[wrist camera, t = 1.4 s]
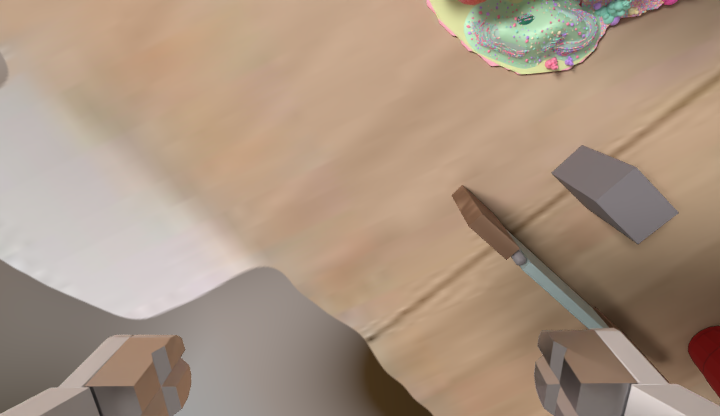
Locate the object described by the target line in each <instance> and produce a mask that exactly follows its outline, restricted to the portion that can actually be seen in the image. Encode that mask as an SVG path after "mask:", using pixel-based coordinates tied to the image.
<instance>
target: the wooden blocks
mask: <svg viewBox="0 0 720 416" xmlns="http://www.w3.org/2000/svg"><path fill="white" fill-rule="evenodd" d="M452 197H453V199H454V201H455V202H456V204H457V206H458V208H459V210H460V211H461V213H462V215H463V217H464V219H465V220H466V222H467V224H468V226H469V227H470V228H471V229H472V230H473V231H475V232H476V233H477V234H478V235H479V236H480V237H481V238H482V239H484V240H485V241H486V242H487V243H488V244H489V245H490V246H491V247H493V248H494V249H495V250H496V251H497V252H498V253H499V254H500V255H502V256H503V257H504V258H505V259H506V260H507V259H508V258H509V257H511V256H512V255H513V254H514V253H515V252H516V251H518V250H519V249H520V248H519V246H518V245H517V244H516V242H515V241H514V240H513V238H512V237H511V236H510V235H509V233H508V232H507V231H506V229H505V228H504V227H503V225H502V224H501V223H500V221H499V220H498V219H497V217H496V216H495V215H494V214H493V213H492V212H491V211H490V210H489V209H488V208H487V207H486V206H485V205H484V204H482V203H481V202H480V201H479V200H478V199H477V198H476V197H475V196H474V195H473V194H472V193H470V192H469V191H468V190H467V189H466V188H465V187H464V186H463V185H462V186H461V187H460V188H459V189H458V190H457V191H456V192H455V193H454V194H453V195H452ZM593 309H594V311H595V312H596V313H597V314H598V315H599V316H600V317H601V319H602V320H603V321H604V322H605V323H606V324H607V325H608V327H609V328H615V329H617V330H619V331H620V332H621V333H622V334H623V335H624V336H625V337H626V338H627V339H628V340H629V341H630V342H631V343H632V344H633V346H634V347H635V348H636V349H637V350H638V351H639V352H640V353H641V354H642V355H643V356H644V357H645V358H646V356H645V355H644V354H643V353H642V352H641V351H640V350H639V349H638V348H637V347H636V345H635V344H634V343H633V342H632V341H631V340H630V339H629V338H628V337H627V336H626V334H624V333H623V332H622V331H621V330H620V329H619V328H618V327H617V326H616V325H615V324H614V323H612V322H611V321H610V320H609V319H608V318H607V317H606V316H605V315H604V314H603V313H602V312H600V311H599V310H598V309H597V308H596V307H594V308H593ZM646 360H647V361H648V362H649V363H650V364H651V365H652V366H653V367H654V368H655V369H656V367H655V366H654V365H653V364H652V363H651V362H650V361H649V360H648V359H647V358H646ZM656 370H657V369H656ZM657 371H658V370H657ZM658 372H659V371H658ZM659 374H660V375H661V376H662V377H663V378H664V379H665V380H666V378H665V377H664V376H663V375H662V374H661V373H660V372H659ZM666 381H667V380H666ZM667 382H668V381H667ZM668 383H669V382H668ZM669 384H670V383H669Z"/></svg>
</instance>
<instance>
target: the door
mask: <svg viewBox="0 0 720 416" xmlns="http://www.w3.org/2000/svg"><path fill="white" fill-rule="evenodd" d="M506 231H507V230H506ZM507 232H508V233H509V235H510V236H511V237H512V238H513V240H514V241H515V242H516V244H517V245H518V246H519V248H520V249H519V250H518V251H516V252H515V253H514V254H513V255H512V256H511V257H512V259H513V260H514V262H515V263H516V264H517V265H519V266H520V267H521V269H522V270H523V271H524V272H526V273H527V274H528V275H529V276H530V277H531V278H532V279H533V280H534V281H536V282H537V283H538V284H539V285H540V286H541V287H542V288H543V289H545V290H546V291H547V292H548V293H549V294H550V295H551V296H552V297H554V298H555V299H556V300H557V301H558V302H559V303H560V304H561V305H562V306H564V307H565V308H566V309H567V310H568V311H569V312H570V313H571V314H573V315H574V316H575V317H576V318H577V319H578V320H579V321H580V322H582V323H583V324H584V325H585V326H586V327H587V328H588V329H596V328H609V327H608V325H607V324H606V323H605V322H604V321H603V320H602V319H601V317H600V316H599V315H598V314H597V313H596V312H595V311H594V309H593V308H592V307H591V306H590V305H589V304H587V303H586V302H585V301H584V300H583V299H582V298H581V297H580V296H579V295H578V294H577V293H575V292H574V291H573V290H572V289H571V288H570V287H569V286H568V285H567V284H566V283H564V282H563V281H562V280H561V279H560V278H559V277H558V276H557V275H556V274H555V273H553V272H552V271H551V270H550V269H549V268H548V267H547V266H546V265H545V264H544V263H543V262H541V261H540V260H539V259H538V258H537V257H536V256H535V255H534V254H533V253H532V252H530V251H529V250H528V249H527V248H526V247H525V246H524V245H523V244H522V243H521V242H520V241H518V240H517V239H516V238H515V237H514V236H513V235H512V234H511V233H510V232H509V231H507Z"/></svg>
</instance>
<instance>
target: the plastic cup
mask: <svg viewBox="0 0 720 416" xmlns="http://www.w3.org/2000/svg"><path fill="white" fill-rule="evenodd" d="M688 352H689V354H690V356H691V358H692V360H693V362H694V363H695V365H696V366H697V367H698V368H699V370H700V371H701V372H702V374H703V375H704V376H705V378H706V380H707V382H708V383H709V384H710V386H711V387H712V388H713V390H714V391H715V392H716V394H717V395H718V396H719V398H720V326H714V327H709V328H706V329H704V330H702V331H700V332H699V333H697V334H696V335H695V336H694V337H693V338H692V340H691V341H690V343H689V346H688Z"/></svg>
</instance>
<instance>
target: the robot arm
mask: <svg viewBox="0 0 720 416" xmlns="http://www.w3.org/2000/svg"><path fill="white" fill-rule="evenodd" d="M538 347H539V349H540V351H541V353H542V354H543V355H542V356H541V357H540V358H539V359H538V360H537V361H536V362H535V372H534V377H535V385H536V390H537V393H538V396H539V399H540V401H541V403H542V405H543V407H544V409H546V410H547V411H548V412H550V413H551V414H552V415H554V416H720V406H719V405H717V404H715V403H713V402H711V401H709V400H707V399H706V398H704V397H702V396H700V395H698V394H696V393H694V392H692V391H690V390H688V389H686V388H684V387H682V386H680V385H678V384H669V383H668V382H667V381H666V380H665V379H664V378H663V377H662V376H661V375H660V374H659V372H658V371H657V370H656V369H655V368H654V367H653V366H652V365H651V364H650V363H649V362H648V361H647V360H646V358H645V357H644V356H643V355H642V354H641V353H640V352H639V351H638V350H637V349H636V348H635V347H634V346H633V344H632V343H631V342H630V341H629V340H628V339H627V338H626V337H625V336H624V335H623V334H622V333H621V332H620V331H619V330H617V329H615V328H596V329H589V330H542V331H541V333H540V335H539V339H538ZM184 351H185V347H184V344H183V341H182V338H181V337H179V336H177V335H114V336H111V337H109V338H107V339H106V340H105V341H104V342H103V343H102V344H101V345H100V346H99V347H98V348H97V349H96V350H95V351H94V352H93V353H92V354H91V355H90V356H89V357H88V358H87V359H86V360H85V361H84V362H83V363H82V364H81V365H80V366H79V367H78V368H77V369H76V370H75V371H74V372H73V373H72V374H71V375H70V376H69V377H68V378H67V379H66V380H65V381H64V382H63V383H62V384H61V385H60V386H59V387H58V388H49V389H47V390H45V391H43V392H42V393H40V394H38V395H36V396H34V397H32V398H30V399H28V400H26V401H24V402H22V403H20V404H18V405H17V406H15V407H13V408H11V409H9V410H7V411H5V412H3V413H1V414H0V416H173V415H174V414H176V413H177V412H178V411H179V410H181V409H182V408H183V406H184V404H185V402H186V400H187V398H188V395H189V391H190V387H191V371H190V367H189V365H188V364H187V363H186V362H185V361H184V360H183V359H182V358H181V356H182V354H183V353H184Z"/></svg>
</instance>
